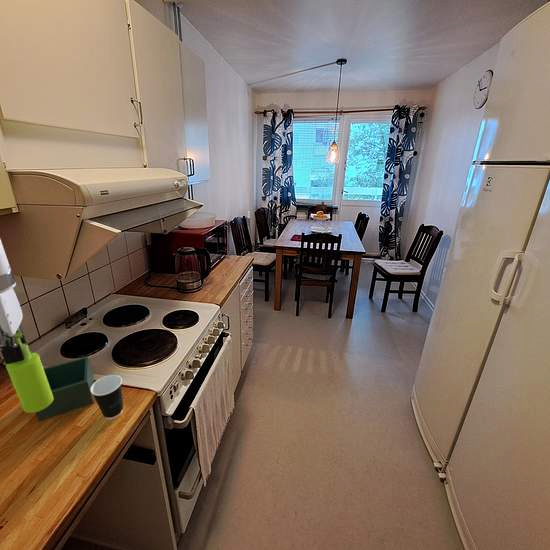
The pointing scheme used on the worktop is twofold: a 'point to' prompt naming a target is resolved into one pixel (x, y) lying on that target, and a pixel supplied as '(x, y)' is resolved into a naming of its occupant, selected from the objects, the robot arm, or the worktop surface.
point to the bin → (68, 387)
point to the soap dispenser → (30, 380)
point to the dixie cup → (108, 395)
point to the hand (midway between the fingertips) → (17, 355)
